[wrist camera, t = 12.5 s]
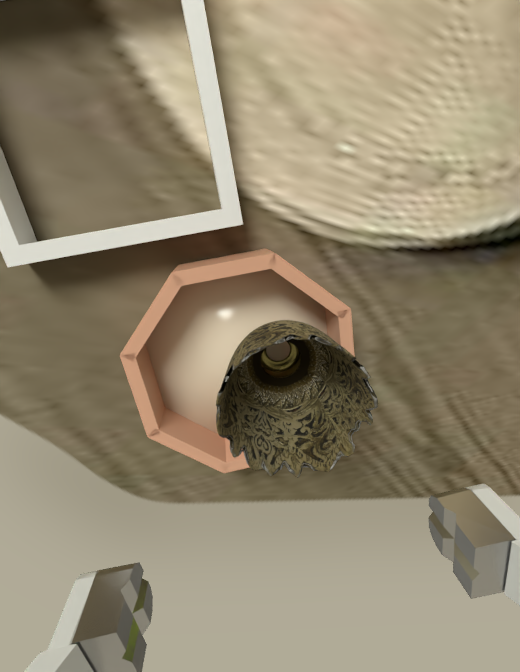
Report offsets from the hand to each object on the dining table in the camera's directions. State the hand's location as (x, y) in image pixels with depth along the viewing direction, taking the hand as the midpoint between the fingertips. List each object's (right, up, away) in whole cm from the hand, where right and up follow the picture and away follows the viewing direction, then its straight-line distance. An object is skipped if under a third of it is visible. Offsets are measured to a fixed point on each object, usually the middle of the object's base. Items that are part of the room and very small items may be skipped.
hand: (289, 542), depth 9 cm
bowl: (-2, +4, +14) cm, 15 cm away
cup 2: (0, +5, +14) cm, 15 cm away
